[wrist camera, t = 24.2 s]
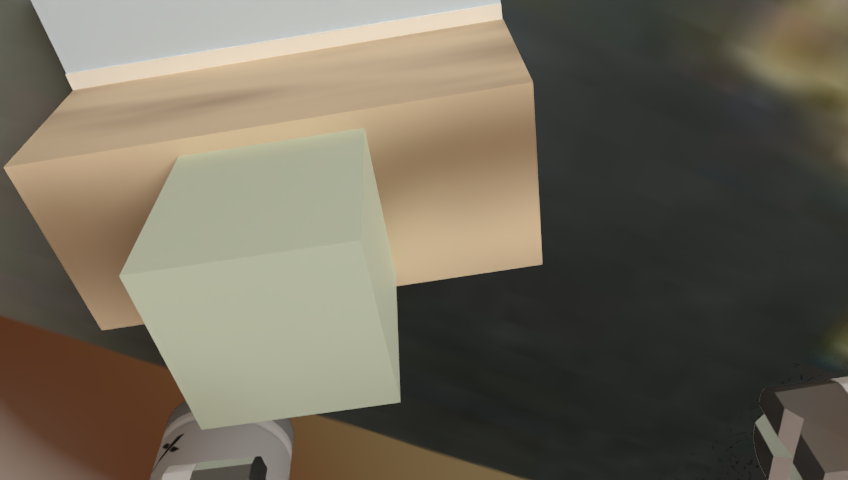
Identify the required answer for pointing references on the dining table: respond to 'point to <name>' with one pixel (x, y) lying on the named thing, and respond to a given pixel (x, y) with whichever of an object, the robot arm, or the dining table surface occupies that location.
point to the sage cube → (271, 281)
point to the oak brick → (295, 118)
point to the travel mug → (225, 443)
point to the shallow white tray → (227, 31)
